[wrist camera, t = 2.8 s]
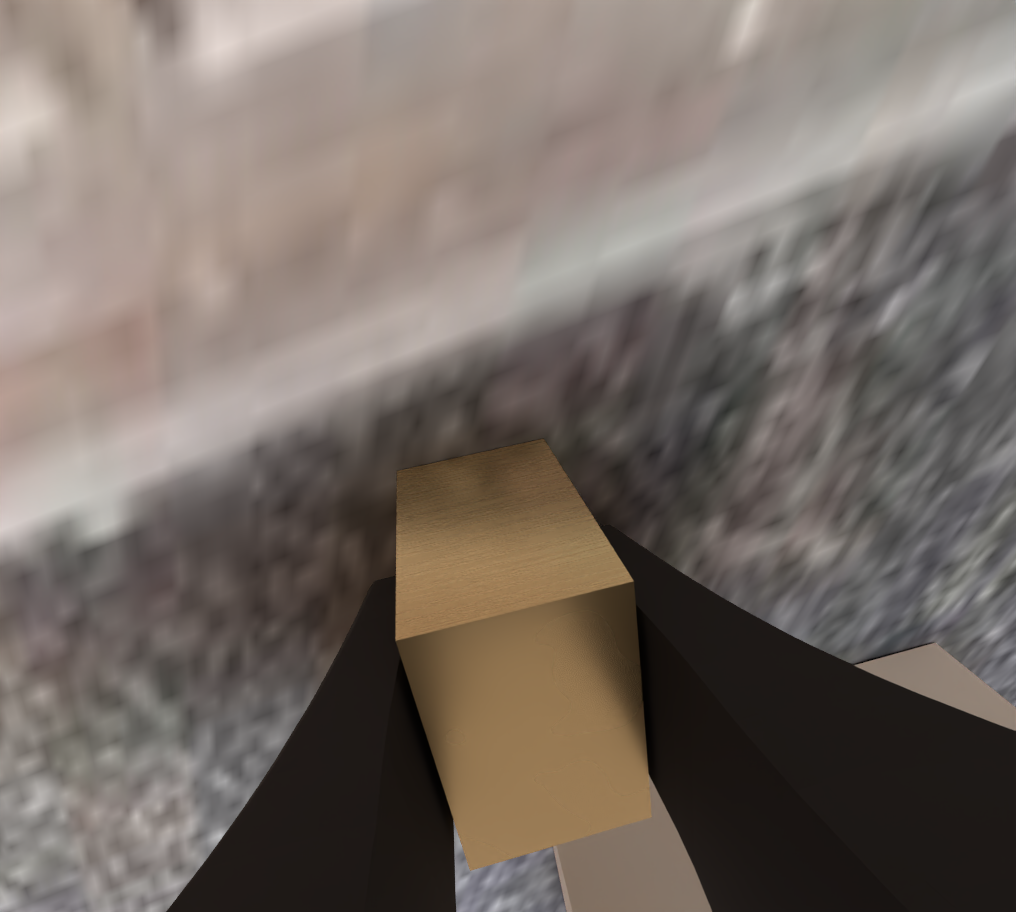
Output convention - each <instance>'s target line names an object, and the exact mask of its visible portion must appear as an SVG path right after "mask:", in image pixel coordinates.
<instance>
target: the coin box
mask: <svg viewBox="0 0 1016 912" xmlns="http://www.w3.org/2000/svg"><path fill="white" fill-rule="evenodd" d="M854 666H856V667H858V668H861V669H863V670H865V671H867V672H869V673H871V674H874V675H876V676H878V677H881V678H883V679H885V680H888V681H890V682H892V683H895V684H897V685H899V686H902V687H904V688H907V689H909V690H911V691H914V692H916V693H919V694H921V695H924V696H926V697H929V698H931V699H934V700H937V701H939V702H942V703H944V704H947V705H949V706H952V707H954V708H957V709H960V710H962V711H965V712H967V713H970V714H972V715H975V716H977V717H980V718H983V719H985V720H988V721H990V722H993V723H996V724H998V725H1001V726H1004V727H1007V728H1009V729H1012V730H1015V731H1016V707H1014V706H1013V705H1012V704H1011V703H1009V702H1008V701H1007V700H1006V699H1004V698H1003V697H1002V696H1001V695H999V694H998V693H997V692H996V691H995V690H993V689H992V688H991V687H990V686H988V685H987V684H986V683H985V682H983V681H982V680H981V679H980V678H978V677H977V676H976V675H975V674H973V673H972V672H971V671H970V670H968V669H967V668H966V667H965V666H964V665H962V664H961V663H960V662H959V661H957V660H956V659H955V658H954V657H952V656H951V655H950V654H949V653H947V652H946V651H945V650H944V649H942V648H941V647H940V646H939V645H937V644H936V643H933V644H929V645H925V646H922V647H918V648H915V649H911V650H907V651H904V652H900V653H896V654H893V655H889V656H886V657H882V658H878V659H875V660H871V661H868V662H864V663H860V664H857V665H854ZM649 787H650V800H651V813H652V817H651V818H648V819H645V820H641V821H638V822H634V823H631V824H628V825H624V826H621V827H617V828H614V829H611V830H607V831H604V832H600V833H597V834H593V835H590V836H587V837H583V838H580V839H576V840H573V841H570V842H566V843H563V844H559V845H556V846H553V849H554V854H555V859H556V863H557V868H558V873H559V878H560V882H561V887H562V892H563V897H564V902H565V906H566V911H567V912H712V910H711V907H710V905H709V903H708V900H707V898H706V895H705V893H704V890H703V888H702V885H701V883H700V880H699V878H698V875H697V873H696V871H695V868H694V866H693V864H692V862H691V859H690V857H689V855H688V853H687V851H686V849H685V846H684V844H683V842H682V840H681V838H680V836H679V833H678V831H677V829H676V827H675V825H674V823H673V821H672V819H671V817H670V815H669V813H668V811H667V810H666V808H665V806H664V804H663V802H662V800H661V798H660V796H659V794H658V792H657V790H656V788H655V786H654V784H653V782H652V780H651V778H650V776H649Z"/></svg>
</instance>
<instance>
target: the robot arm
mask: <svg viewBox="0 0 1016 912" xmlns="http://www.w3.org/2000/svg"><path fill="white" fill-rule="evenodd" d="M600 528H601V530H602V532H603V533H604V535H605V536H606V538H607V539H608V541H609V543H610V544H611V546H612V547H613V549H614V551H615V552H616V554H617V555H618V557H619V558H620V560H621V562H622V563H623V565H624V566H625V568H626V569H627V571H628V573H629V574H630V576H631V577H632V579H633V581H634V589H635V602H636V616H637V629H638V642H639V655H640V668H641V681H642V695H643V708H644V721H645V734H646V747H647V760H648V774H649V776H650V778H651V780H652V782H653V784H654V786H655V788H656V790H657V792H658V794H659V796H660V798H661V800H662V802H663V804H664V806H665V808H666V810H667V811H668V813H669V815H670V817H671V819H672V821H673V823H674V825H675V827H676V829H677V831H678V833H679V836H680V838H681V840H682V842H683V844H684V846H685V849H686V851H687V853H688V855H689V857H690V859H691V862H692V864H693V866H694V868H695V871H696V873H697V875H698V878H699V880H700V883H701V885H702V888H703V890H704V893H705V895H706V898H707V900H708V903H709V905H710V907H711V910H712V912H1016V731H1015V730H1012V729H1009V728H1007V727H1004V726H1001V725H998V724H996V723H993V722H990V721H988V720H985V719H983V718H980V717H977V716H975V715H972V714H970V713H967V712H965V711H962V710H960V709H957V708H954V707H952V706H949V705H947V704H944V703H942V702H939V701H937V700H934V699H931V698H929V697H926V696H924V695H921V694H919V693H916V692H914V691H911V690H909V689H907V688H904V687H902V686H899V685H897V684H895V683H892V682H890V681H888V680H885V679H883V678H881V677H878V676H876V675H874V674H871V673H869V672H867V671H865V670H863V669H861V668H858V667H856V666H854V665H852V664H850V663H848V662H845V661H843V660H841V659H839V658H837V657H835V656H832V655H830V654H828V653H826V652H824V651H822V650H819V649H817V648H815V647H813V646H811V645H809V644H807V643H805V642H803V641H801V640H799V639H797V638H795V637H793V636H791V635H789V634H787V633H785V632H783V631H781V630H780V629H778V628H776V627H774V626H772V625H770V624H768V623H767V622H765V621H763V620H761V619H759V618H757V617H756V616H754V615H752V614H750V613H748V612H746V611H745V610H743V609H741V608H739V607H737V606H736V605H734V604H732V603H730V602H729V601H727V600H725V599H724V598H722V597H720V596H718V595H717V594H715V593H714V592H712V591H710V590H709V589H707V588H705V587H704V586H702V585H701V584H699V583H697V582H696V581H694V580H692V579H691V578H689V577H688V576H686V575H684V574H683V573H681V572H680V571H678V570H677V569H675V568H674V567H672V566H671V565H669V564H668V563H666V562H665V561H663V560H662V559H660V558H659V557H657V556H656V555H654V554H653V553H651V552H650V551H648V550H647V549H645V548H644V547H642V546H641V545H639V544H638V543H636V542H635V541H633V540H632V539H630V538H629V537H627V536H626V535H624V534H623V533H621V532H620V531H618V530H617V529H615V528H614V527H612V526H611V525H606V526H602V527H600ZM166 912H456V899H455V863H454V825H453V816H452V813H451V810H450V807H449V804H448V801H447V798H446V795H445V792H444V789H443V785H442V782H441V779H440V776H439V773H438V770H437V767H436V764H435V761H434V758H433V755H432V752H431V749H430V745H429V742H428V739H427V736H426V733H425V730H424V727H423V724H422V721H421V718H420V715H419V712H418V709H417V705H416V702H415V699H414V696H413V693H412V690H411V687H410V684H409V681H408V678H407V675H406V672H405V669H404V665H403V662H402V659H401V656H400V653H399V650H398V647H397V644H396V576H393V577H389V578H385V579H381V580H377V581H375V582H374V583H373V584H372V586H371V587H370V589H369V591H368V593H367V595H366V597H365V599H364V601H363V604H362V606H361V608H360V610H359V612H358V614H357V616H356V618H355V620H354V622H353V624H352V626H351V628H350V630H349V632H348V634H347V636H346V638H345V640H344V642H343V644H342V646H341V648H340V650H339V652H338V654H337V656H336V658H335V659H334V661H333V663H332V665H331V667H330V669H329V670H328V672H327V674H326V676H325V678H324V680H323V681H322V683H321V685H320V687H319V689H318V691H317V692H316V694H315V696H314V698H313V699H312V701H311V703H310V705H309V706H308V708H307V710H306V711H305V713H304V714H303V716H302V718H301V719H300V721H299V723H298V724H297V726H296V728H295V729H294V731H293V732H292V734H291V736H290V737H289V739H288V741H287V742H286V744H285V746H284V747H283V749H282V750H281V752H280V754H279V755H278V757H277V759H276V760H275V762H274V763H273V765H272V766H271V768H270V769H269V771H268V772H267V774H266V775H265V777H264V778H263V780H262V782H261V783H260V785H259V786H258V788H257V789H256V791H255V792H254V793H253V795H252V796H251V798H250V799H249V801H248V802H247V804H246V805H245V807H244V808H243V810H242V811H241V812H240V814H239V815H238V817H237V818H236V819H235V821H234V822H233V824H232V825H231V826H230V828H229V829H228V831H227V832H226V833H225V835H224V836H223V838H222V839H221V840H220V842H219V843H218V845H217V846H216V847H215V849H214V850H213V851H212V853H211V854H210V856H209V857H208V858H207V860H206V861H205V862H204V863H203V865H202V866H201V867H200V869H199V870H198V871H197V873H196V874H195V875H194V876H193V878H192V879H191V880H190V882H189V883H188V884H187V886H186V887H185V888H184V889H183V891H182V892H181V893H180V895H179V896H178V897H177V899H176V900H175V901H174V902H173V904H172V905H171V906H170V908H169V909H168V910H167V911H166Z"/></svg>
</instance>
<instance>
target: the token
mask: <svg viewBox="0 0 1016 912" xmlns="http://www.w3.org/2000/svg"><path fill="white" fill-rule="evenodd" d="M396 644H397V647H398V650H399V653H400V656H401V659H402V662H403V665H404V669H405V672H406V675H407V678H408V681H409V684H410V687H411V690H412V693H413V696H414V699H415V702H416V705H417V709H418V712H419V715H420V718H421V721H422V724H423V727H424V730H425V733H426V736H427V739H428V742H429V745H430V749H431V752H432V755H433V758H434V761H435V764H436V767H437V770H438V773H439V776H440V779H441V782H442V785H443V789H444V792H445V795H446V798H447V801H448V804H449V807H450V810H451V813H452V816H453V819H454V822H455V825H456V829H457V832H458V835H459V838H460V841H461V844H462V847H463V850H464V853H465V856H466V859H467V862H468V866H469V869H470V871H471V870H474V869H478V868H481V867H485V866H488V865H491V864H495V863H498V862H502V861H505V860H508V859H512V858H515V857H519V856H522V855H525V854H529V853H532V852H536V851H539V850H542V849H546V848H549V847H553V846H556V845H559V844H563V843H566V842H570V841H573V840H576V839H580V838H583V837H587V836H590V835H593V834H597V833H600V832H604V831H607V830H611V829H614V828H617V827H621V826H624V825H628V824H631V823H634V822H638V821H641V820H645V819H648V818H651V817H652V813H651V800H650V787H649V774H648V760H647V747H646V734H645V721H644V708H643V695H642V681H641V668H640V655H639V642H638V629H637V616H636V602H635V589H634V581H633V579H632V577H631V576H630V574H629V573H628V571H627V569H626V568H625V566H624V565H623V563H622V562H621V560H620V558H619V557H618V555H617V554H616V552H615V551H614V549H613V547H612V546H611V544H610V543H609V541H608V539H607V538H606V536H605V535H604V533H603V532H602V530H601V528H600V527H599V525H598V524H597V522H596V521H595V519H594V517H593V516H592V514H591V513H590V511H589V509H588V508H587V506H586V505H585V503H584V502H583V500H582V498H581V497H580V495H579V494H578V492H577V490H576V489H575V487H574V486H573V484H572V483H571V481H570V479H569V478H568V476H567V475H566V473H565V472H564V470H563V468H562V467H561V465H560V464H559V462H558V460H557V459H556V457H555V456H554V454H553V453H552V451H551V449H550V448H549V446H548V445H547V443H546V442H545V440H544V439H539V440H535V441H530V442H526V443H521V444H517V445H512V446H508V447H503V448H499V449H494V450H490V451H485V452H481V453H476V454H472V455H467V456H462V457H458V458H453V459H449V460H444V461H440V462H435V463H431V464H426V465H422V466H417V467H413V468H408V469H404V470H399V471H397V523H396Z"/></svg>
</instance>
